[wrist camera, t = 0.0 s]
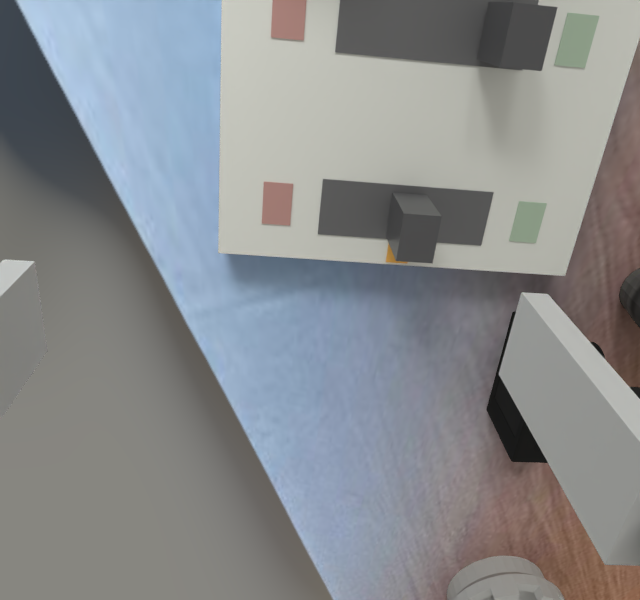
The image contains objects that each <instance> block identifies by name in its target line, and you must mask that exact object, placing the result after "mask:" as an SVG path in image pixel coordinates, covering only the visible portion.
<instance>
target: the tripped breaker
mask: <svg viewBox="0 0 640 600" xmlns="http://www.w3.org/2000/svg"><path fill="white" fill-rule="evenodd" d="M441 218H442V216H441V214H440V213H439V212H438V210H437V209H436V207H435V206H434V204H433V203H432V202H431V200H430V199H429V197H428V196H427V195H420V194H407V193H394V192H393V193H392V200H391V206H390V213H389V219H388V226H387V232H386V238H387V240H388V243H389V245H390V248H391V250H392V252H393V255H394V257H395V260H396V261H402V262H417V263H432V264H433V259H434V254H435V249H436V244H437V239H438V233H439V228H440V223H441Z"/></svg>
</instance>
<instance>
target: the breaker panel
mask: <svg viewBox="0 0 640 600" xmlns="http://www.w3.org/2000/svg"><path fill="white" fill-rule="evenodd" d="M489 2H515V3H524V4H533V5H543V6H552V7H558V8H557V12H556V16H555V20H554V24H553V28H552V32H551V36H550V40H549V44H548V48H547V52H546V56H545V60H544V64H543V68H542V71H535V70H524V69H514V68H504V67H498V66H495V65H492V64H489V63H486V62H483V61H479V60H477V58H478V53H479V48H480V43H481V38H482V33H483V28H484V23H485V18H486V13H487V8H488V3H489ZM639 38H640V0H222V17H221V93H220V168H219V243H218V253H226V254H241V255H256V256H271V257H286V258H301V259H316V260H331V261H346V262H362V263H377V264H392V265H407V266H422V267H437V268H452V269H467V270H482V271H497V272H512V273H527V274H542V275H558V276H565V274H566V271H567V268H568V264H569V261H570V258H571V255H572V252H573V249H574V245H575V242H576V239H577V236H578V233H579V229H580V226H581V223H582V220H583V217H584V213H585V210H586V207H587V204H588V201H589V197H590V194H591V191H592V188H593V185H594V182H595V178H596V175H597V172H598V169H599V166H600V162H601V159H602V156H603V153H604V150H605V146H606V143H607V140H608V137H609V134H610V131H611V127H612V124H613V121H614V118H615V115H616V111H617V108H618V105H619V102H620V99H621V95H622V92H623V89H624V86H625V83H626V80H627V76H628V73H629V70H630V67H631V64H632V60H633V57H634V54H635V51H636V48H637V44H638V41H639ZM393 192H394V193H407V194H420V195H427V196H428V197H429V199H430V200H431V202H432V203H433V204H434V206H435V207H436V209H437V210H438V212H439V213H440V214H441V216H442V218H441V223H440V228H439V233H438V239H437V244H436V249H435V254H434V259H433V264H432V263H417V262H402V261H396V260H395V257H394V255H393V252H392V250H391V248H390V245H389V243H388V240H387V238H386V232H387V226H388V219H389V213H390V206H391V200H392V193H393Z"/></svg>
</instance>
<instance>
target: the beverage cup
mask: <svg viewBox="0 0 640 600" xmlns="http://www.w3.org/2000/svg"><path fill="white" fill-rule="evenodd" d="M619 296H620V302H621V303H622V305H623V307H624V308H625V309H626V310H627V311H628V313H629V315H630V316H631V318H632V319H633V320H634V321H635V323H636V324H637V325H638V326H639V327H640V268H639V269H637V270H636V271H634V272H632V273H631V274H630V275H629V276H628V277H627V278H626V279H625V281H624V283H623V284H622V286H621V289H620V294H619Z"/></svg>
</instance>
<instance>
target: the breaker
mask: <svg viewBox="0 0 640 600" xmlns="http://www.w3.org/2000/svg"><path fill="white" fill-rule="evenodd" d="M557 8H558V7H552V6H543V5H533V4H524V3H515V2H489V3H488V8H487V13H486V18H485V23H484V28H483V33H482V38H481V43H480V48H479V53H478V58H477V60H479V61H483V62H486V63H489V64H492V65H495V66H498V67H504V68H514V69H524V70H535V71H542V68H543V64H544V60H545V56H546V52H547V48H548V44H549V40H550V36H551V32H552V28H553V24H554V20H555V16H556V12H557Z"/></svg>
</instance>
